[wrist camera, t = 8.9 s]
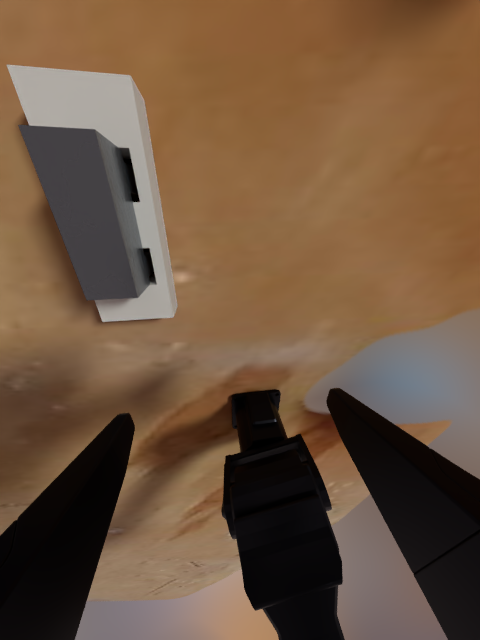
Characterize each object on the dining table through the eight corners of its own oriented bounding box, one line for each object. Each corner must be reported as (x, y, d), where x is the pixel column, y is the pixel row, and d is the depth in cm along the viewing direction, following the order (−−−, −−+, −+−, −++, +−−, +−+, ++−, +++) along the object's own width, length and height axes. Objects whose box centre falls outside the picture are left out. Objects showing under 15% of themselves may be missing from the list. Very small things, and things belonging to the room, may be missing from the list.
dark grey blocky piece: (156, 276, 17) (138, 297, 12) (120, 277, 17) (86, 300, 12) (133, 159, 13) (94, 129, 9) (85, 157, 13) (18, 124, 8)
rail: (177, 305, 19) (173, 317, 17) (115, 309, 18) (102, 321, 16) (144, 100, 12) (130, 75, 10) (44, 93, 12) (6, 64, 9)
